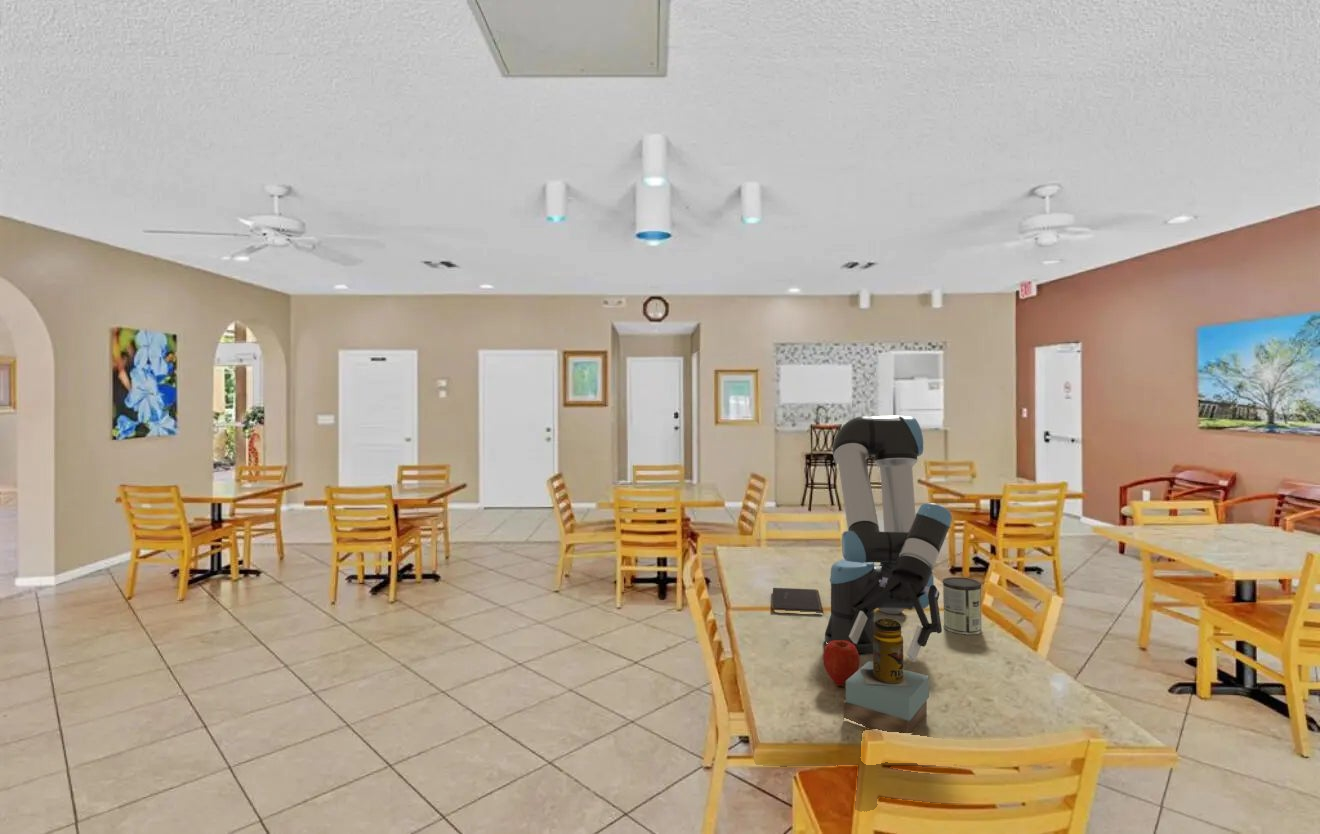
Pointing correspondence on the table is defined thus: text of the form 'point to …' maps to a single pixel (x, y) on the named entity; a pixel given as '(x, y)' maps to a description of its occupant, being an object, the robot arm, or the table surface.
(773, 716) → the table surface
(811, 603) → the hardcover book
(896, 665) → the condiment
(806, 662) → the table surface
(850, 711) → the tower base
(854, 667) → the apple
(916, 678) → the tower top
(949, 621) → the coffee can
